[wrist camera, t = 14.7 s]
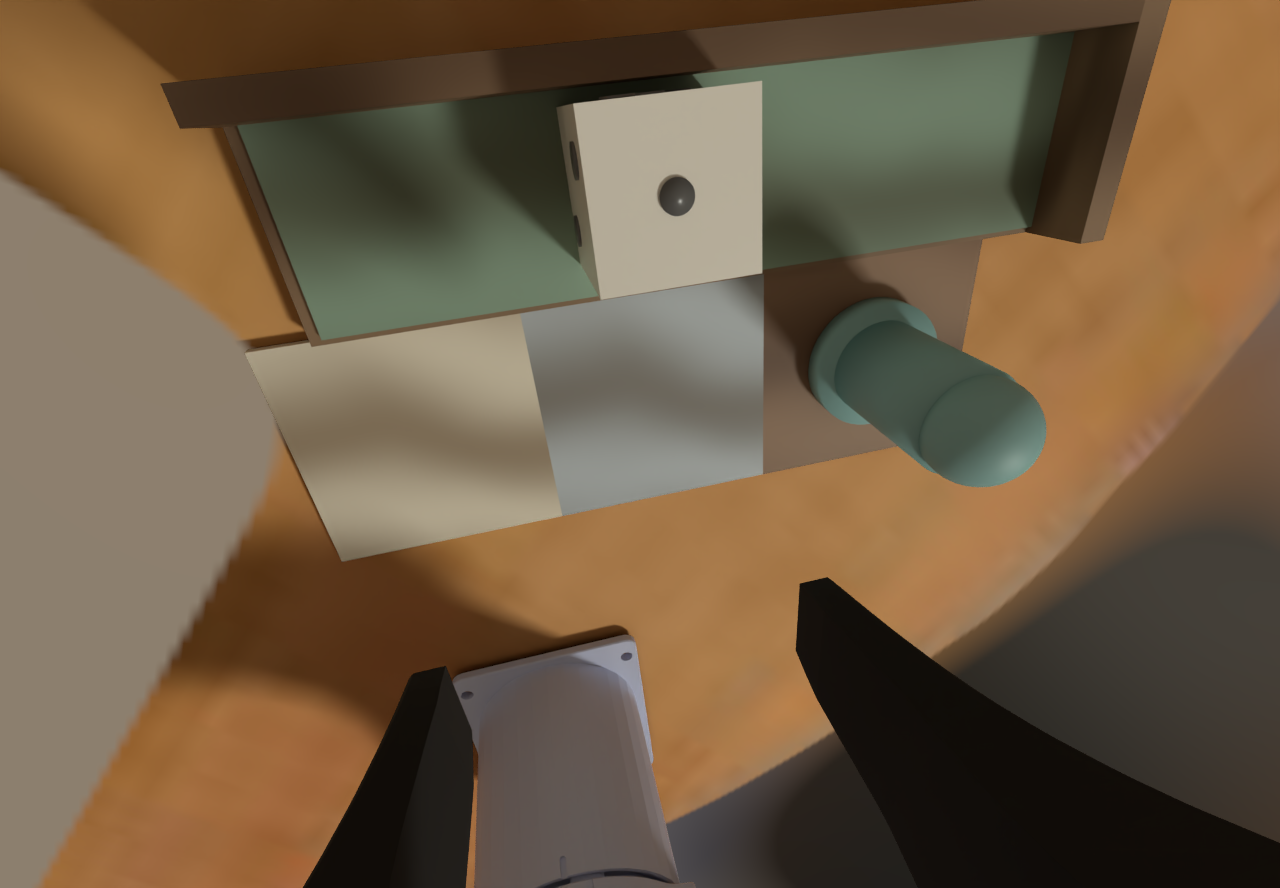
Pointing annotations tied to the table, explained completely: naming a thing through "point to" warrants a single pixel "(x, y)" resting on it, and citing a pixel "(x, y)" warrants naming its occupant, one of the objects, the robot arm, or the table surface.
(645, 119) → the die
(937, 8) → the dice tray
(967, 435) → the pawn
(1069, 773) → the robot arm
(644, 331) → the track
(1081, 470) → the table surface
